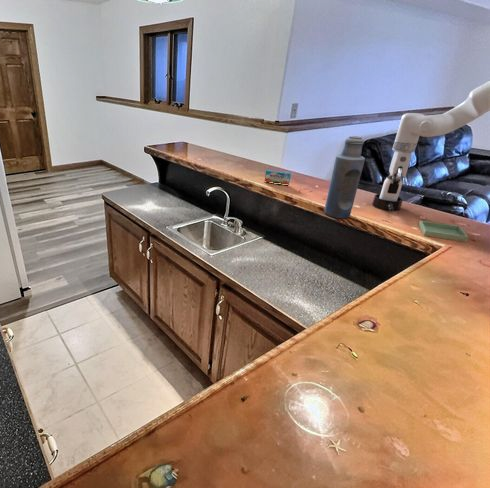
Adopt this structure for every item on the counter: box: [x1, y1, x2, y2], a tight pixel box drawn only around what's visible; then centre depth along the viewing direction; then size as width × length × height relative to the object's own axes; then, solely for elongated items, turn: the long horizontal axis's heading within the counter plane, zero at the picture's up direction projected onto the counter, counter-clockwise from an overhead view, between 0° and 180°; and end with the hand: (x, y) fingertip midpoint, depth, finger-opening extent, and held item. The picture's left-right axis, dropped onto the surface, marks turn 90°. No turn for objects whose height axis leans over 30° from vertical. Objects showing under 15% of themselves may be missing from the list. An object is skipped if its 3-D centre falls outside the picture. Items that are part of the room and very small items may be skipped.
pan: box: [371, 193, 404, 212], centre depth 143 cm, size 10×19×4 cm, turn 156°
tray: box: [418, 220, 469, 243], centre depth 123 cm, size 12×10×2 cm
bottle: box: [323, 135, 366, 219], centre depth 132 cm, size 10×10×30 cm
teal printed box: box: [264, 169, 292, 186], centre depth 174 cm, size 12×2×6 cm, turn 60°
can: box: [379, 176, 404, 201], centre depth 145 cm, size 6×6×12 cm
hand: (390, 190), depth 144 cm, fingers closed on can, 6 cm apart
